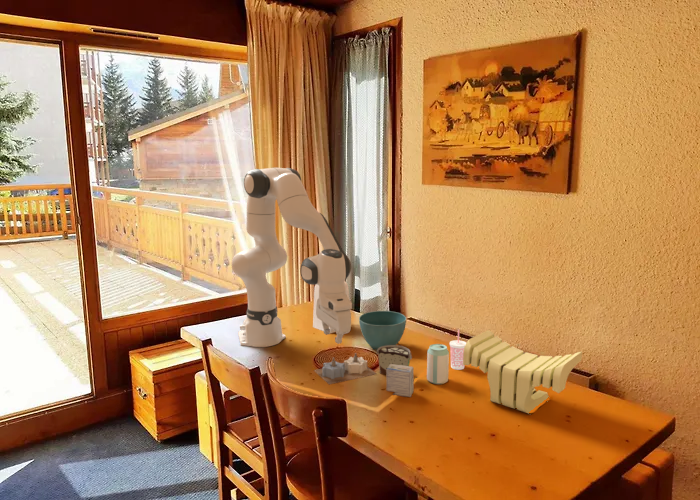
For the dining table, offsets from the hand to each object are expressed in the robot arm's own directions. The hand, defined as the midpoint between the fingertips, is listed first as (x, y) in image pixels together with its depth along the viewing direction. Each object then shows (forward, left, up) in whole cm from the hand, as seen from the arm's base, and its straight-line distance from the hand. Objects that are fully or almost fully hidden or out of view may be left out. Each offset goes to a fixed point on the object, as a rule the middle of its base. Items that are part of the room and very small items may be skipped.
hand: (332, 338), depth 183 cm
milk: (-48, +22, -14) cm, 55 cm away
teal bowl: (-16, +29, -14) cm, 36 cm away
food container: (+9, +20, -14) cm, 26 cm away
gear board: (0, +4, -14) cm, 15 cm away
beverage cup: (+13, +43, -14) cm, 47 cm away
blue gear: (0, 0, -13) cm, 13 cm away
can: (+19, +30, -14) cm, 38 cm away
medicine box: (+21, +14, -14) cm, 29 cm away
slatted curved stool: (+43, +43, -14) cm, 62 cm away
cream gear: (0, +9, -13) cm, 15 cm away
